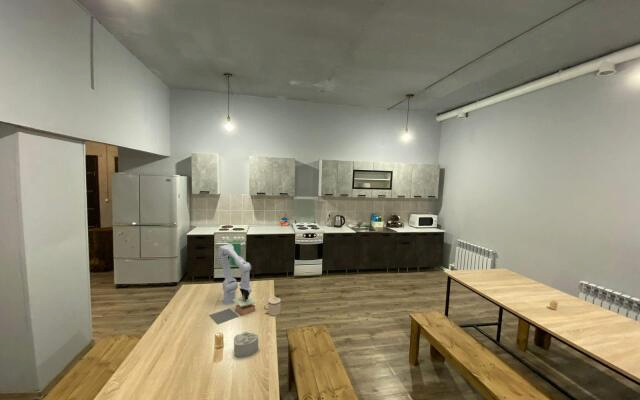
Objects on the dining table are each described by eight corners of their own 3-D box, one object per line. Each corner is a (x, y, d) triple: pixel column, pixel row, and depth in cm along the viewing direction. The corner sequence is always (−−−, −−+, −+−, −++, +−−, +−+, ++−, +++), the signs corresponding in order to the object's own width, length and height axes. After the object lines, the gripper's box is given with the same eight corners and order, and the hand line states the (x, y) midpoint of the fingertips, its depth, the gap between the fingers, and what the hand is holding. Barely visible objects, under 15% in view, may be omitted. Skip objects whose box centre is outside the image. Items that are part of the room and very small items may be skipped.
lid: (232, 300, 193) (233, 293, 193) (247, 296, 202) (248, 289, 201) (240, 306, 185) (241, 299, 184) (256, 302, 193) (256, 295, 193)
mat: (208, 315, 186) (208, 315, 186) (229, 308, 196) (229, 308, 196) (217, 325, 175) (217, 324, 175) (239, 317, 185) (239, 316, 185)
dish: (235, 310, 195) (235, 305, 194) (248, 306, 201) (248, 300, 201) (242, 316, 187) (242, 310, 187) (255, 311, 194) (255, 306, 194)
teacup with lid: (280, 308, 198) (280, 293, 197) (281, 315, 189) (281, 299, 188) (263, 310, 195) (263, 294, 194) (263, 316, 186) (263, 300, 185)
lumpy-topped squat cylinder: (233, 346, 155) (233, 332, 154) (257, 342, 159) (257, 328, 158) (234, 358, 145) (234, 343, 144) (259, 353, 149) (259, 339, 148)
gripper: (235, 278, 195) (235, 296, 196) (244, 284, 184) (245, 304, 185) (244, 276, 199) (244, 293, 201) (254, 282, 189) (254, 300, 190)
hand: (245, 298), depth 193 cm, fingers closed on lid, 3 cm apart
